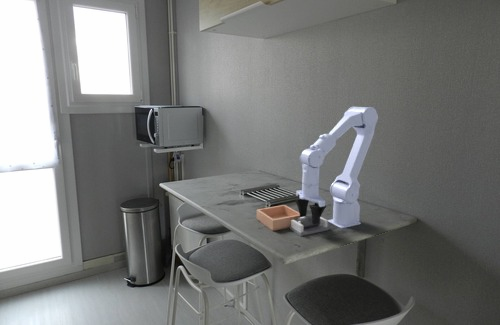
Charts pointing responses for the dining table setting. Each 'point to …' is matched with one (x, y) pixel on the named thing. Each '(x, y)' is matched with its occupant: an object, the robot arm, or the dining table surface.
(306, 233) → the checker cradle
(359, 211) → the robot arm
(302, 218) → the cell
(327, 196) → the dining table surface
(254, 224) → the dining table surface
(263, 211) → the bin
